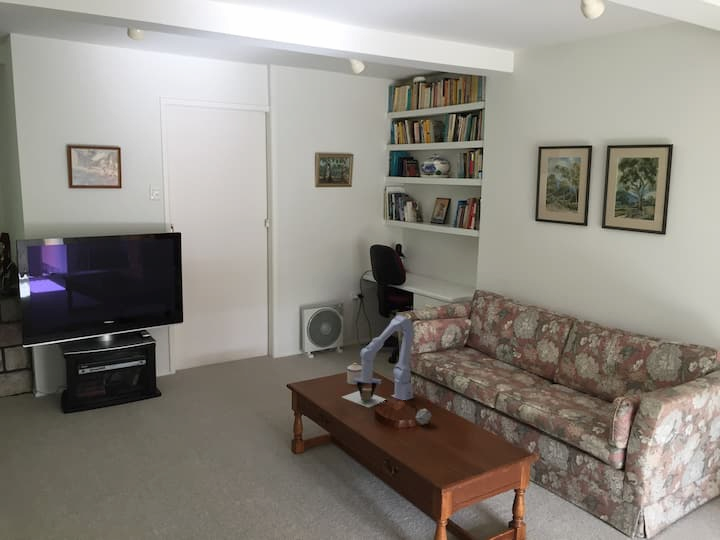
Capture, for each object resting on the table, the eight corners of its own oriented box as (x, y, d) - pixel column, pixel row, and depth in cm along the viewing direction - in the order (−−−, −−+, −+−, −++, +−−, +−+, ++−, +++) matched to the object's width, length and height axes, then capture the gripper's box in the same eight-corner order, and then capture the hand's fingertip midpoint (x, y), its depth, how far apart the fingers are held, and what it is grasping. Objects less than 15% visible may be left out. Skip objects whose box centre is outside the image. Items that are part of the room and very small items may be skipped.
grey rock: (419, 432, 297) (407, 416, 295) (425, 420, 303) (413, 405, 302) (433, 428, 291) (421, 412, 289) (439, 416, 297) (427, 400, 296)
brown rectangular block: (370, 401, 320) (370, 394, 319) (361, 400, 320) (361, 393, 320) (372, 395, 328) (372, 388, 327) (362, 395, 328) (362, 388, 328)
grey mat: (388, 400, 326) (388, 399, 326) (368, 408, 316) (368, 407, 316) (360, 391, 340) (360, 389, 340) (341, 398, 330) (341, 396, 329)
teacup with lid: (365, 384, 351) (365, 364, 349) (351, 386, 347) (351, 366, 345) (356, 377, 362) (356, 358, 360) (341, 380, 358) (342, 360, 356)
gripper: (381, 369, 325) (381, 394, 327) (353, 368, 326) (353, 392, 328) (380, 373, 318) (380, 399, 320) (352, 372, 319) (352, 397, 321)
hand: (366, 396), depth 324 cm, fingers closed on brown rectangular block, 5 cm apart
